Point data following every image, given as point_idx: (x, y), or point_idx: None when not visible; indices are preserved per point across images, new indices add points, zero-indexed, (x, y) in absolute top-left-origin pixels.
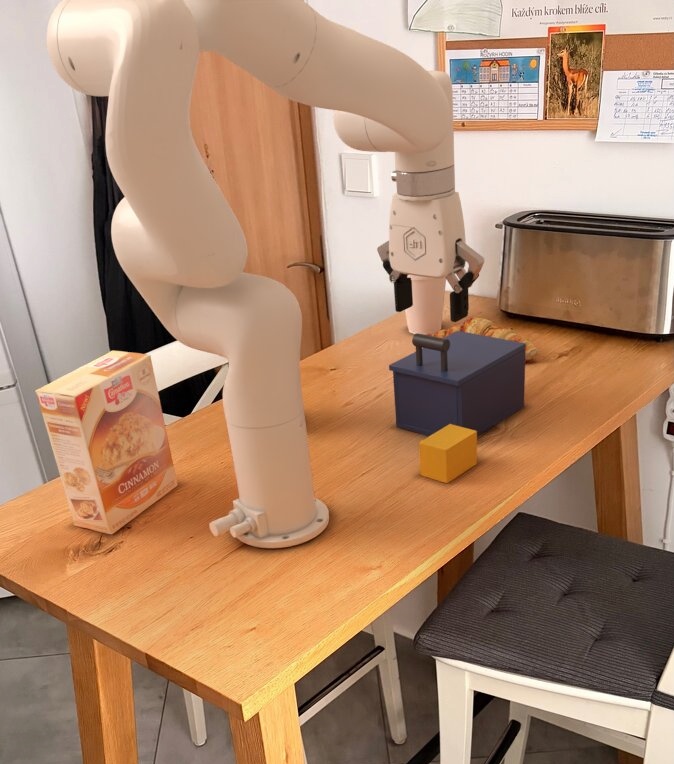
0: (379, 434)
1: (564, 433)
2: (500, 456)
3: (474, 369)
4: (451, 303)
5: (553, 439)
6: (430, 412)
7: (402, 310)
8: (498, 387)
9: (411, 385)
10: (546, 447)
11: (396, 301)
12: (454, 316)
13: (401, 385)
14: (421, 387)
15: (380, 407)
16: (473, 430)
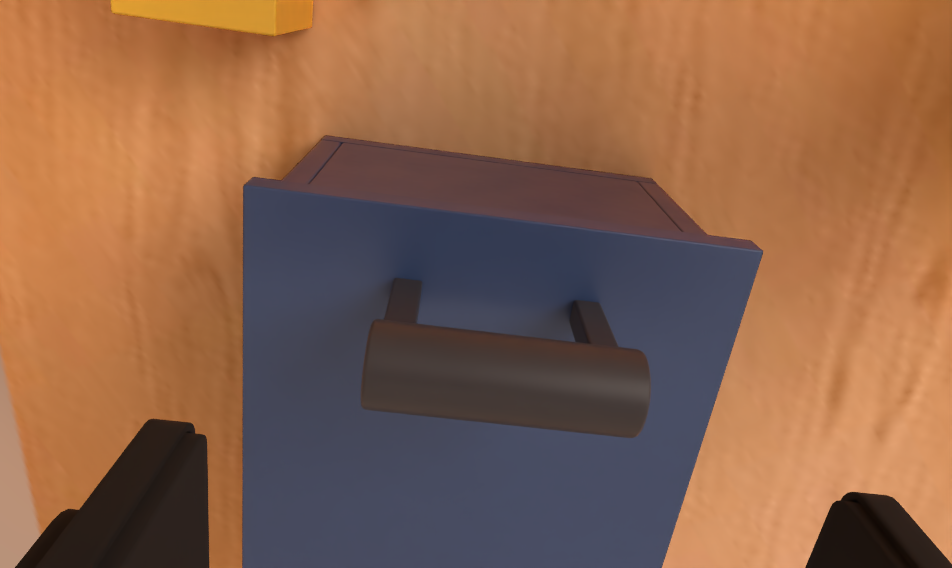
0: (687, 91)
1: (73, 359)
2: (145, 110)
3: (263, 358)
4: (88, 555)
5: (74, 307)
6: (478, 181)
7: (826, 525)
8: None
9: None
10: (53, 243)
11: (932, 565)
12: (128, 452)
13: None
14: None
15: (791, 307)
16: (126, 9)
